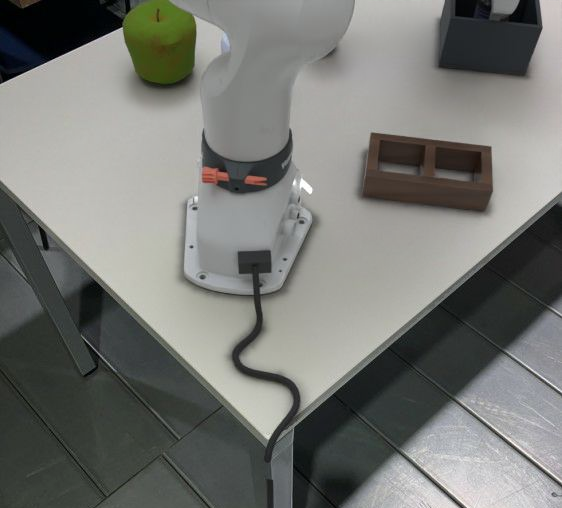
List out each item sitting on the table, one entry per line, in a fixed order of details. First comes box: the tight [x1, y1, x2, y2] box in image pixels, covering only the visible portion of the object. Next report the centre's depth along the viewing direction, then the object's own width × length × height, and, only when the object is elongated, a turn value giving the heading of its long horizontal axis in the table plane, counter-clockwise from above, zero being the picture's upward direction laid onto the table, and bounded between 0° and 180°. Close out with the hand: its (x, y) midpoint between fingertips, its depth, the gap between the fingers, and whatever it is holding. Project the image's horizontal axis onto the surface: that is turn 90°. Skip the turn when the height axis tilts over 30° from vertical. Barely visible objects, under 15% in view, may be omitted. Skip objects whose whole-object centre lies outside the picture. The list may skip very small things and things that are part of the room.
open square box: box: [438, 0, 544, 77], centre depth 113 cm, size 16×16×9 cm
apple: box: [121, 0, 198, 85], centre depth 106 cm, size 12×12×11 cm
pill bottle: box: [473, 0, 510, 22], centre depth 112 cm, size 6×6×11 cm
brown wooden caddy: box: [361, 131, 494, 212], centre depth 96 cm, size 10×19×4 cm, turn 81°
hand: (491, 12), depth 111 cm, fingers closed on pill bottle, 6 cm apart
